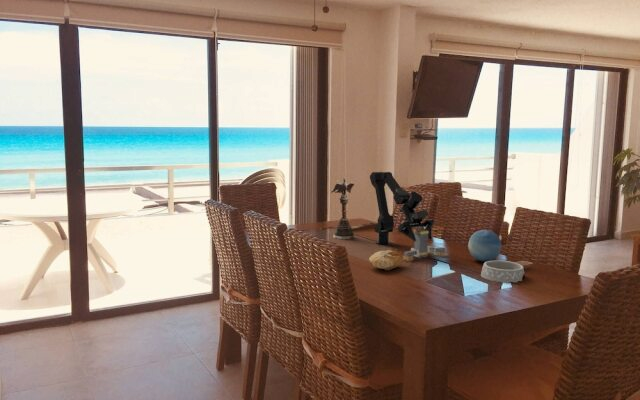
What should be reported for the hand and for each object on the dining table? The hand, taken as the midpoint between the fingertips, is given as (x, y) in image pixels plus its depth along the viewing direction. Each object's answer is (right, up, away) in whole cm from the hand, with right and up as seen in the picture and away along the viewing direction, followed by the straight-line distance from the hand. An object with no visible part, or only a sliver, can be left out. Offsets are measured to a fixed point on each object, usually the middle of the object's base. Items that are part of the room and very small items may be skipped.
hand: (423, 240), depth 267 cm
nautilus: (-18, -12, -19) cm, 28 cm away
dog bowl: (+28, -14, -32) cm, 45 cm away
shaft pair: (0, -9, +1) cm, 9 cm away
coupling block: (-1, -8, +3) cm, 9 cm away
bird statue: (-38, -2, +50) cm, 63 cm away
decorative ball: (+28, -10, -6) cm, 30 cm away
